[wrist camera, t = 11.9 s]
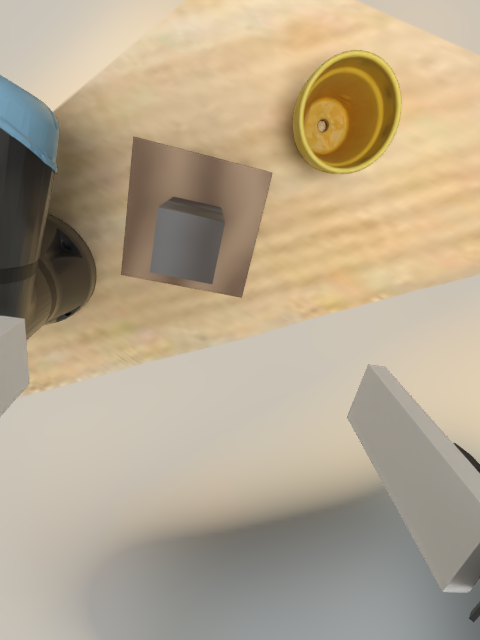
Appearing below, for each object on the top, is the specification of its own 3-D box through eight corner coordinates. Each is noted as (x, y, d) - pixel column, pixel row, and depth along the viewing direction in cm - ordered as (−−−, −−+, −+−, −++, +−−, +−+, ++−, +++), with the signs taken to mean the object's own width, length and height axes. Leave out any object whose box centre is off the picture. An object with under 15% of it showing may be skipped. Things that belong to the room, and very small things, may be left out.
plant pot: (263, 114, 40) (278, 98, 31) (338, 55, 38) (377, 20, 29) (305, 190, 44) (330, 194, 35) (374, 140, 42) (419, 131, 33)
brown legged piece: (144, 248, 44) (87, 313, 24) (155, 146, 40) (96, 120, 19) (234, 266, 47) (252, 341, 26) (255, 172, 42) (299, 173, 21)
